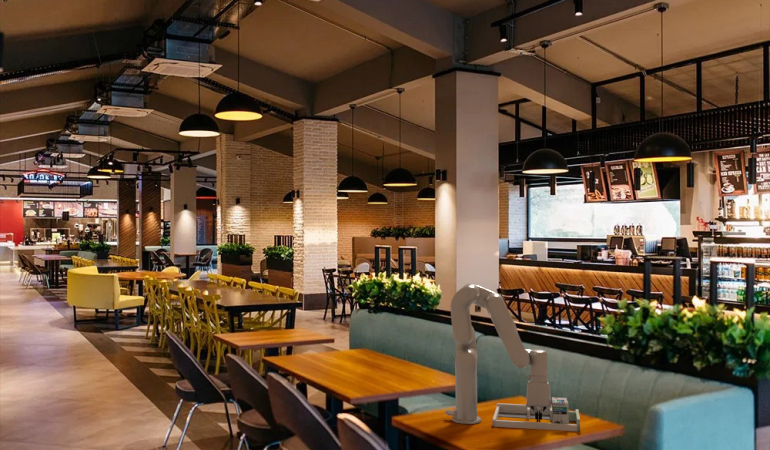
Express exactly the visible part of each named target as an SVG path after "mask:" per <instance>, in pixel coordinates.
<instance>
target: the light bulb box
mask: <svg viewBox="0 0 770 450" xmlns="http://www.w3.org/2000/svg"><path fill="white" fill-rule="evenodd" d="M551 406H552V420H551V421H552V422H551V423H558V424H570V421H569V411H570V410H569V400H568V398H567V397H555V396H552V397H551Z"/></svg>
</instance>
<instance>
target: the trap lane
mask: <svg viewBox="0 0 770 450" xmlns="http://www.w3.org/2000/svg"><path fill="white" fill-rule="evenodd" d="M540 407H541V406H537V410H538V420H539V410H540ZM495 408H496V409H495V411H494V415H493V417H492V427H497V428H511V429H512V428H514V429H527V430H528V429H532V430H534V429H535V430H547V431H566V432H579V431H580V432H581V417H580V413H579V411H580V410H579V409H575V410H574V411H570V410H569V422H575V424H574V423H573V424H572V423H571V424H570V423H569V424H558V423H552V422H541V421H540V422H539V421H538V422H537V421H536V422H535V421H518V420H505V419H503V420H501V419H499V418H515V419H517V418H518V419H529V420H532V419H534V420H536V419H535V412H534V411H533V410H532V409H531V408H529V407H526V404H521V403H519V404H516V403H515V404H514V403H502V402H501V403H500V402H499V403H498V402H497V403H496V407H495ZM542 420H547V421H548V420H550V421H552V405H551V408H550V409H545V410H544V411H543V412H542Z"/></svg>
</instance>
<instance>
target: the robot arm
mask: <svg viewBox="0 0 770 450" xmlns="http://www.w3.org/2000/svg"><path fill="white" fill-rule="evenodd" d="M471 305H476V306H478V307H481V308H484V309H485V310H486V312H487V314H488V316H489V318H490V319H491V322H492V323H493V326H494V328H495V329H496V330H495V331H496V332H497V334H498V337H499V338H500V340H501V342H502V343H503V345H504V346H503V347H504V348H505V351H506V352H507V355H508V356H509V359H510V361H511V363H512V364H513V366H514V367H515V368H516V369H520V370H523V369H527V367H528V366H529V374H528V375H525V378H526V379H527V380H528V381H527V384H526V385H527V386H526V399H525V400H526V403H525V405H526V407H529V408H531V409H532V410H533V411H534V412H535V419H534V420H536V422H541V421H542V420H543V419H542V412H543V411H544V410H545V409H550V408H551V406H552V397H551V395H552V394H551V385H550V383H549V381H548V352H547V350H544V349H526V347H525V346H524V344H523V341H522V340H521V337H520V334H519V333H518V329H517V325H516V323H515V320H514V319H513V317H512V316H511V313H510V311H509V309H508V307H507V304H506V303H505V300H504V298H503V296H502V295H501V294H499V293H498V292H494V291H492V290H489V289H487V288H485V287H482V286H481V285H477V284H475V283H467V284H465V285H464V286H463V287H461V288H460V289H459V290H457V291H456V292H455V294H454V295H453V296H452V299H451V302H450V317H451V327H452V329H451V330H452V338H453V340H454V344H455V352H456V354H455V358H454V371H455V373H454V374H455V375H454V376H455V377H454V378H455V379H454V380H455V381H454V385H455V387H454V388H455V409H453V410H450V409H446V410H445V415H447V416H452V418H451V420H452V422H454V423H456V424H461V425H474V424H478V423H480V422H482V417H481V416H478V372H477V371H478V357H479V356H478V349H477V348H478V347H477V341H476V334H475V333H476V332H475V329H474V327H473V325H472V318H471V310H470V308H471V307H472V306H471ZM537 406H541V407H540V410H539V419H538V410H537Z"/></svg>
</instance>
